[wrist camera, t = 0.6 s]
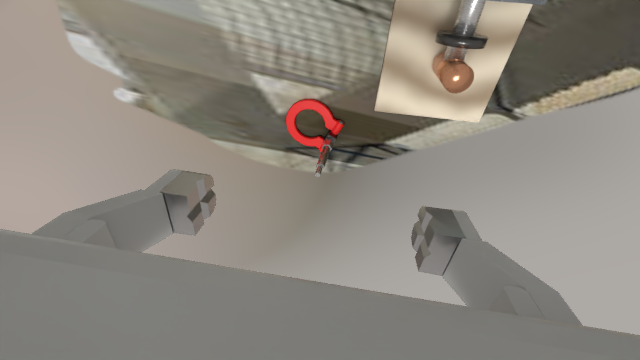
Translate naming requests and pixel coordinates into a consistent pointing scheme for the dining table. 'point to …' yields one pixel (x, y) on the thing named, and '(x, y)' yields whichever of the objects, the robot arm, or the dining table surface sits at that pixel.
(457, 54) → the flanged metal rod
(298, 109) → the tow hook
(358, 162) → the dining table surface
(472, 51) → the base board
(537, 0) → the eye bracket
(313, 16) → the dining table surface
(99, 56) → the dining table surface
